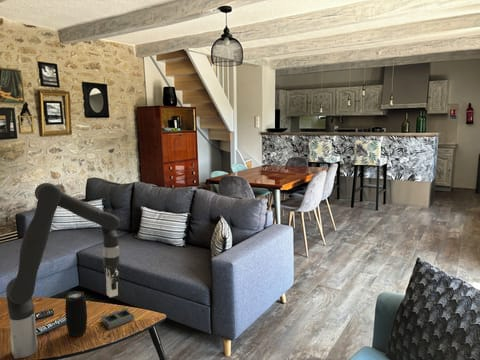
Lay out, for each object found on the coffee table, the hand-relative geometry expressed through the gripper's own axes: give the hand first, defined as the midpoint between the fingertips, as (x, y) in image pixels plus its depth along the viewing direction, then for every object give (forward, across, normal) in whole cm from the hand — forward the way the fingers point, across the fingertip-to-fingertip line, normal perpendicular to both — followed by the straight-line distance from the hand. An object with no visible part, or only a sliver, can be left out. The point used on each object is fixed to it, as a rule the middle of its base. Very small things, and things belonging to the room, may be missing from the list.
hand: (112, 287), depth 181 cm
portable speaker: (+19, -2, -16) cm, 25 cm away
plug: (+4, 0, 0) cm, 4 cm away
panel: (+18, 0, +2) cm, 18 cm away
